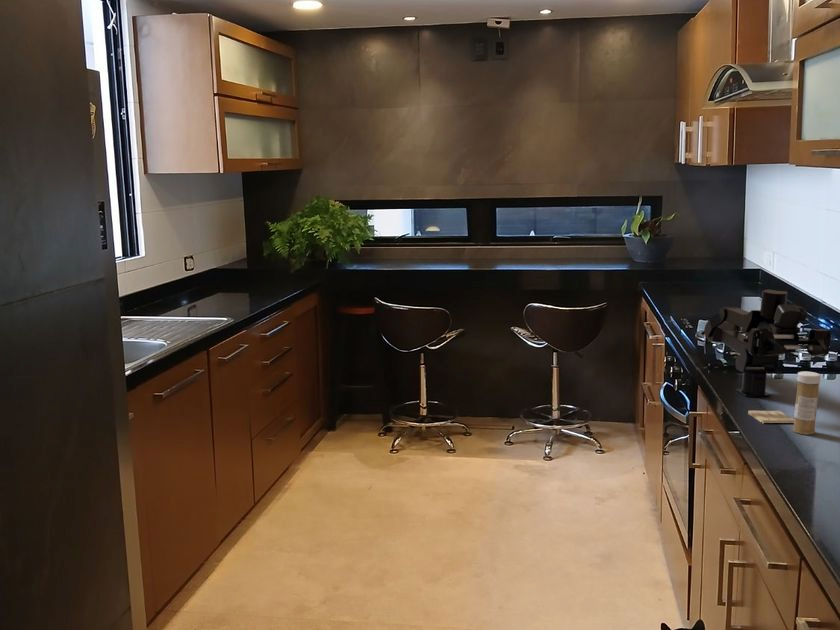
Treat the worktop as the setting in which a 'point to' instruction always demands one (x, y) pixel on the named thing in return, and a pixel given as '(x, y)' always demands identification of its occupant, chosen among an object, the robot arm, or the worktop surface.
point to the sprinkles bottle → (806, 402)
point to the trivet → (771, 417)
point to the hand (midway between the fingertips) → (805, 351)
